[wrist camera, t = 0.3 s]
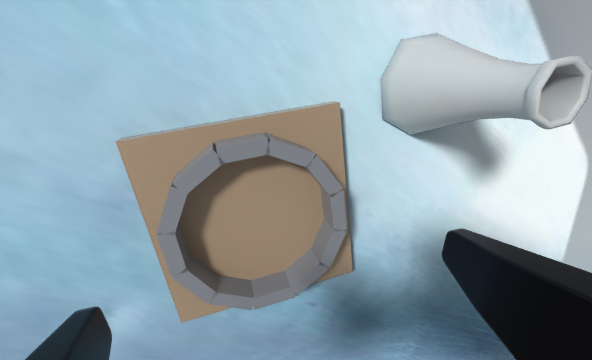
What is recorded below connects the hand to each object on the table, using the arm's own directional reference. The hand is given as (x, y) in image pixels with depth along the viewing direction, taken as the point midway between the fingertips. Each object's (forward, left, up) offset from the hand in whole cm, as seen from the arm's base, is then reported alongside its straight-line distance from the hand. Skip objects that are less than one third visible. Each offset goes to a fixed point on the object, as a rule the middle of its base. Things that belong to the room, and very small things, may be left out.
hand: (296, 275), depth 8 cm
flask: (+2, -14, -14) cm, 20 cm away
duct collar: (-5, 0, -14) cm, 15 cm away
